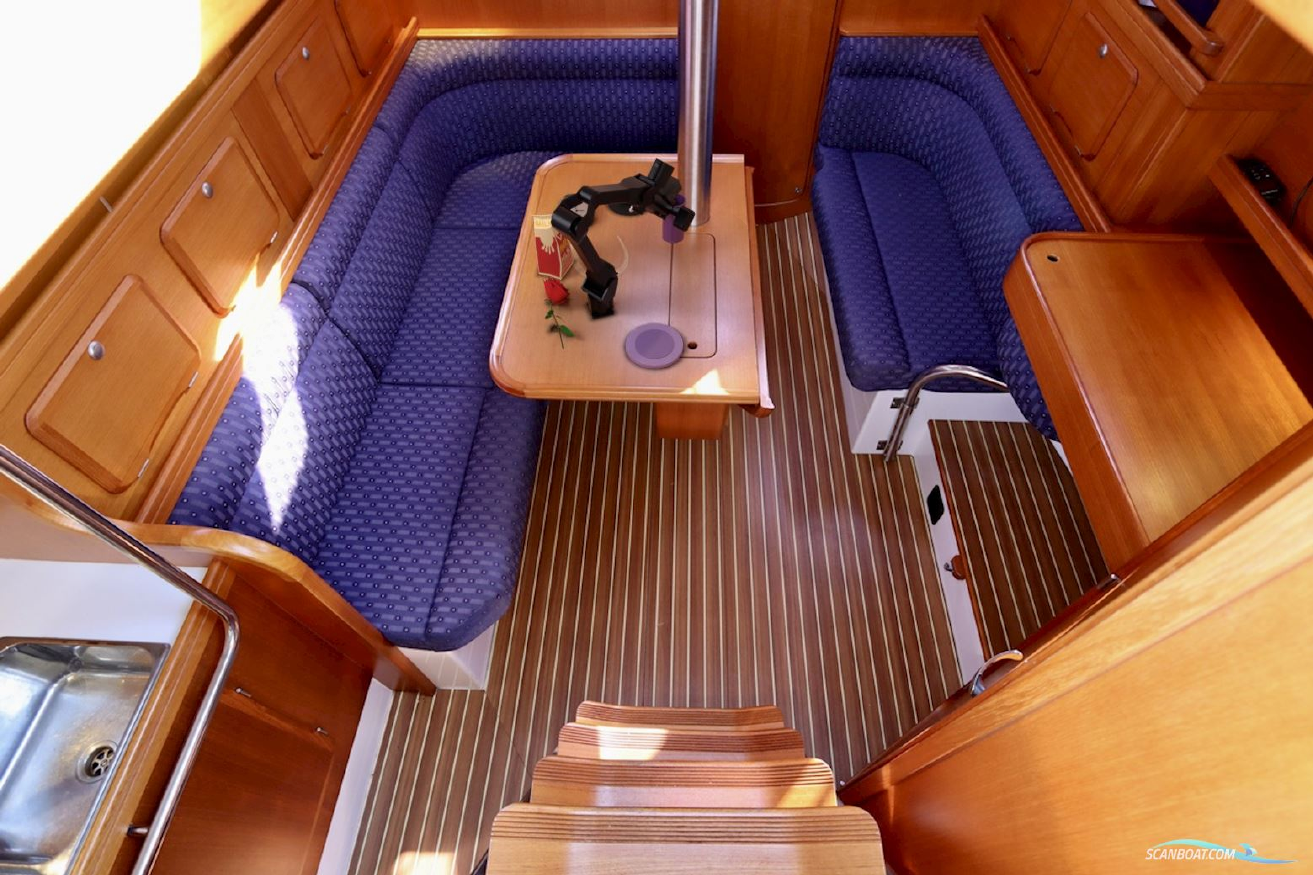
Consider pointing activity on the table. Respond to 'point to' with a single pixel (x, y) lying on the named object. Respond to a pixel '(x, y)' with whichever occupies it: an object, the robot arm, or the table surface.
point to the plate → (654, 345)
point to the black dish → (623, 209)
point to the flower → (556, 301)
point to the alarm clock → (578, 209)
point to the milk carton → (551, 248)
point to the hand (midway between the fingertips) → (676, 216)
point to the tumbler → (668, 230)
